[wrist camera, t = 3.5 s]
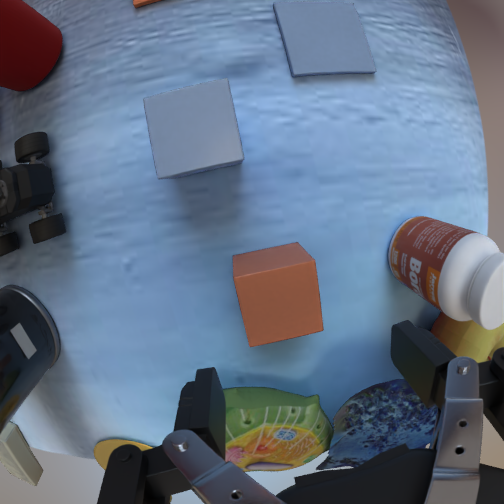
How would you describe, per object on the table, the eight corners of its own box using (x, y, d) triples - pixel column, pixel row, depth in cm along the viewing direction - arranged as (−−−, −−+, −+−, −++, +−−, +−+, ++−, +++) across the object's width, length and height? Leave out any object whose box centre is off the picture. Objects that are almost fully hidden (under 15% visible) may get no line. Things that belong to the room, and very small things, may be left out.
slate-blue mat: (292, 77, 19) (293, 74, 19) (272, 5, 18) (273, 2, 17) (373, 73, 20) (376, 71, 19) (351, 6, 18) (353, 3, 17)
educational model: (180, 360, 24) (171, 405, 19) (353, 370, 26) (374, 409, 21) (179, 442, 28) (174, 481, 23) (316, 447, 30) (326, 482, 24)
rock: (348, 396, 17) (346, 374, 19) (305, 476, 25) (306, 462, 27) (503, 380, 16) (495, 364, 18) (422, 466, 24) (420, 453, 26)
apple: (396, 362, 24) (455, 407, 17) (445, 269, 23) (513, 296, 16) (437, 375, 28) (483, 407, 20) (476, 301, 27) (528, 324, 20)
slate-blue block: (173, 178, 21) (157, 179, 16) (161, 114, 20) (142, 98, 15) (241, 163, 21) (244, 159, 16) (228, 98, 20) (227, 77, 15)
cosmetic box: (-10, 411, 26) (17, 457, 29) (-23, 428, 22) (8, 473, 25) (17, 424, 26) (44, 469, 29) (5, 444, 22) (36, 487, 25)
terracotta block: (245, 314, 24) (249, 347, 19) (232, 255, 23) (233, 277, 18) (306, 301, 24) (323, 331, 19) (297, 241, 23) (315, 260, 18)
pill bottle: (373, 247, 23) (459, 298, 12) (421, 200, 22) (518, 223, 12) (405, 296, 25) (482, 358, 14) (448, 252, 24) (533, 292, 13)
